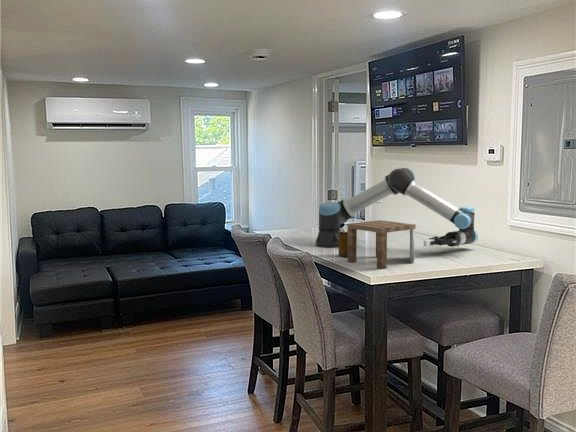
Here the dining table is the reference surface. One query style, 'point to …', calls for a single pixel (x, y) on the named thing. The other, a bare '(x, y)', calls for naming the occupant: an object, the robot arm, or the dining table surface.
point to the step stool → (381, 238)
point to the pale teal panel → (412, 245)
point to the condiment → (343, 244)
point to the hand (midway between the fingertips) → (424, 243)
